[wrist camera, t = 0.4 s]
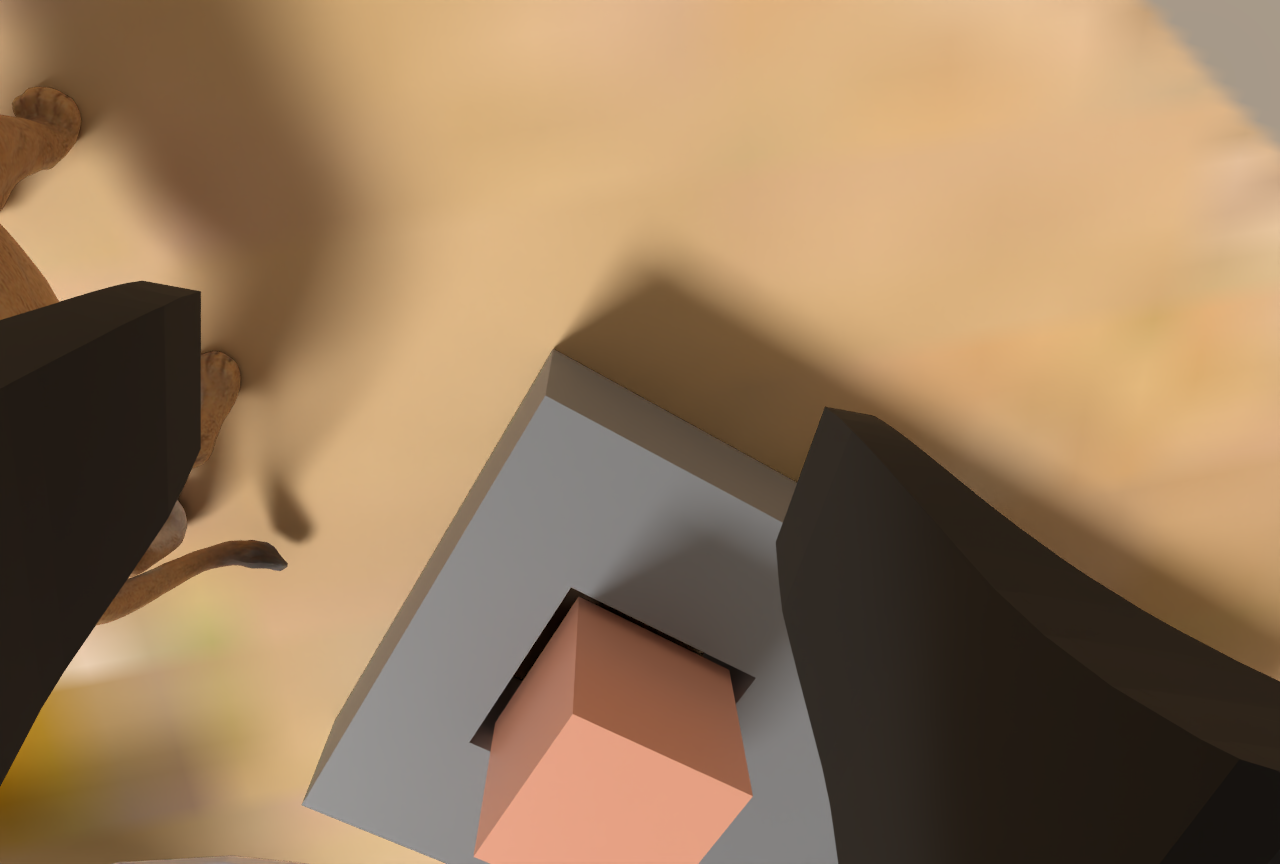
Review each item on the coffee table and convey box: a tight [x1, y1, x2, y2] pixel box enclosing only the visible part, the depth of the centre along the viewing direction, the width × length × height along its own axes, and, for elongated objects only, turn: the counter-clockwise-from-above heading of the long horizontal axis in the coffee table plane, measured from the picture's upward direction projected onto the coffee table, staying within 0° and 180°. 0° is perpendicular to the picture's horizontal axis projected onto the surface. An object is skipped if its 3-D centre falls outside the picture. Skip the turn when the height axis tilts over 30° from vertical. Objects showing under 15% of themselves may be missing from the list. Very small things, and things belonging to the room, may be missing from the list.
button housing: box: [302, 349, 838, 864], centre depth 25 cm, size 12×20×3 cm, turn 59°
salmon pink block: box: [474, 597, 753, 864], centre depth 21 cm, size 4×4×4 cm
